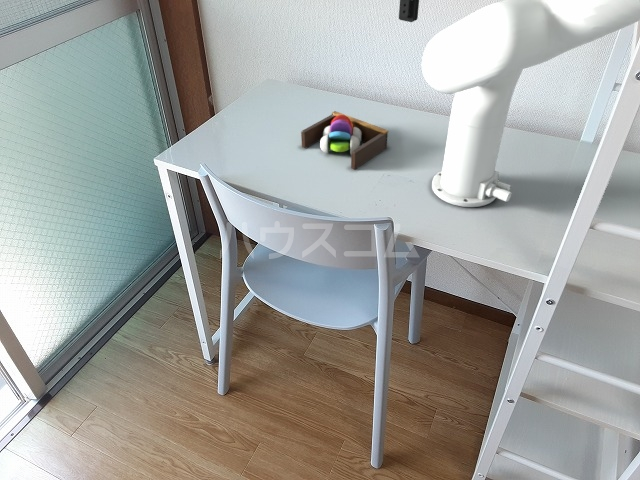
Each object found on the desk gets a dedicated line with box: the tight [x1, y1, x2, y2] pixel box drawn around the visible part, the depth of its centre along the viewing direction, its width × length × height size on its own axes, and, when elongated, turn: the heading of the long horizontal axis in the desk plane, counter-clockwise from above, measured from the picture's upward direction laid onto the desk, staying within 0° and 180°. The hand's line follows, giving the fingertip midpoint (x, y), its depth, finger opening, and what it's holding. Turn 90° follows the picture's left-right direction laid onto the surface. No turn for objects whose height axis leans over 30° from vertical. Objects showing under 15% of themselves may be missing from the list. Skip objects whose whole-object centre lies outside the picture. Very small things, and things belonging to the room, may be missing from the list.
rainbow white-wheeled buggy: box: [319, 114, 362, 155], centre depth 112 cm, size 8×10×7 cm
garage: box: [300, 110, 389, 171], centre depth 113 cm, size 15×12×4 cm
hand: (407, 19), depth 99 cm, fingers closed
